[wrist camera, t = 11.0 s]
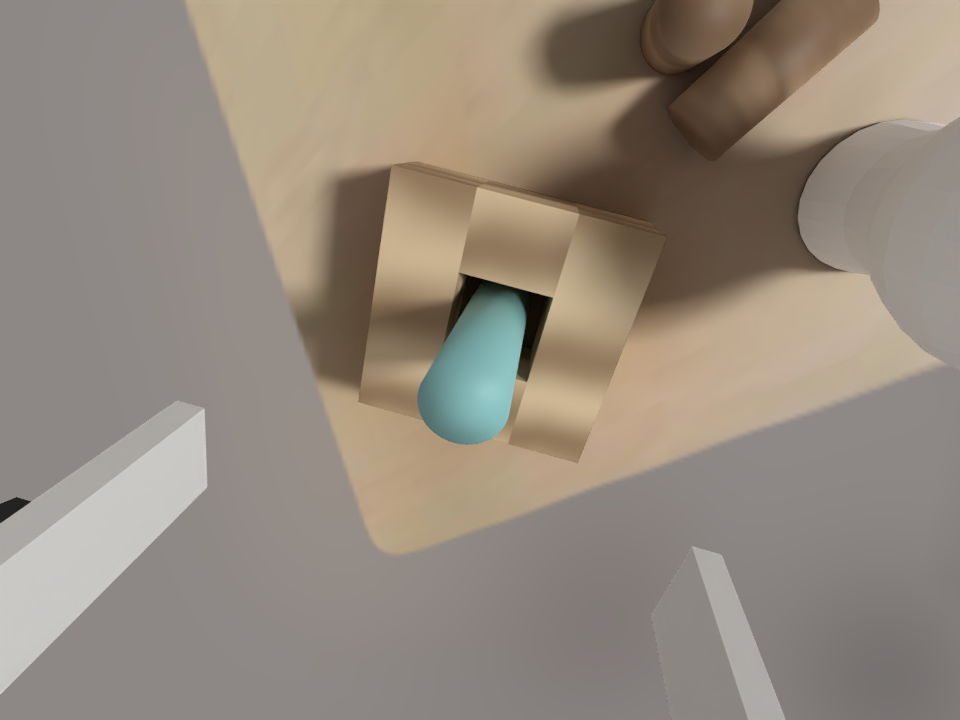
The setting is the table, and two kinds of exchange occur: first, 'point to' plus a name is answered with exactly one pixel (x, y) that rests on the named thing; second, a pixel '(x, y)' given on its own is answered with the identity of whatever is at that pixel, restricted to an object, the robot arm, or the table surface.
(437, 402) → the pin long
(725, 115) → the pin medium
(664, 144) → the table surface
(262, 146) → the table surface
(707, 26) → the pin short
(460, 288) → the hole block
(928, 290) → the cup
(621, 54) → the table surface
